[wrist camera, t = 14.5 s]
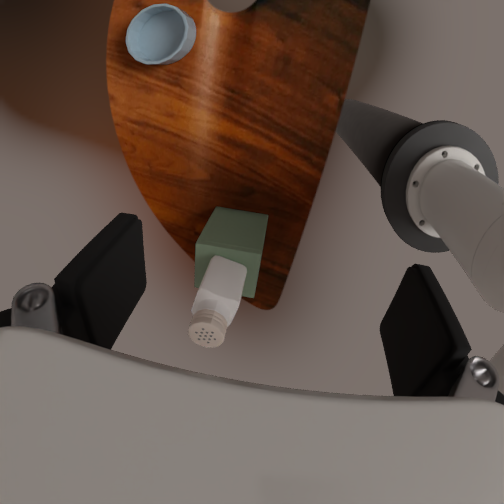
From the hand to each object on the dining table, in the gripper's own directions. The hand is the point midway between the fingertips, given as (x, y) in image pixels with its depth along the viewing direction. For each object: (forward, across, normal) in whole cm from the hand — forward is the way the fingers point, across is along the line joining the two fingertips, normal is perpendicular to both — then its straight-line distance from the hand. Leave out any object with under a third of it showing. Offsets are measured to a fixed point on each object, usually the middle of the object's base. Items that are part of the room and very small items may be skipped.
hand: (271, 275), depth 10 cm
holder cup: (+28, +16, -11) cm, 34 cm away
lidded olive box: (+28, +4, +14) cm, 32 cm away
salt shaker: (+19, +4, +14) cm, 24 cm away
